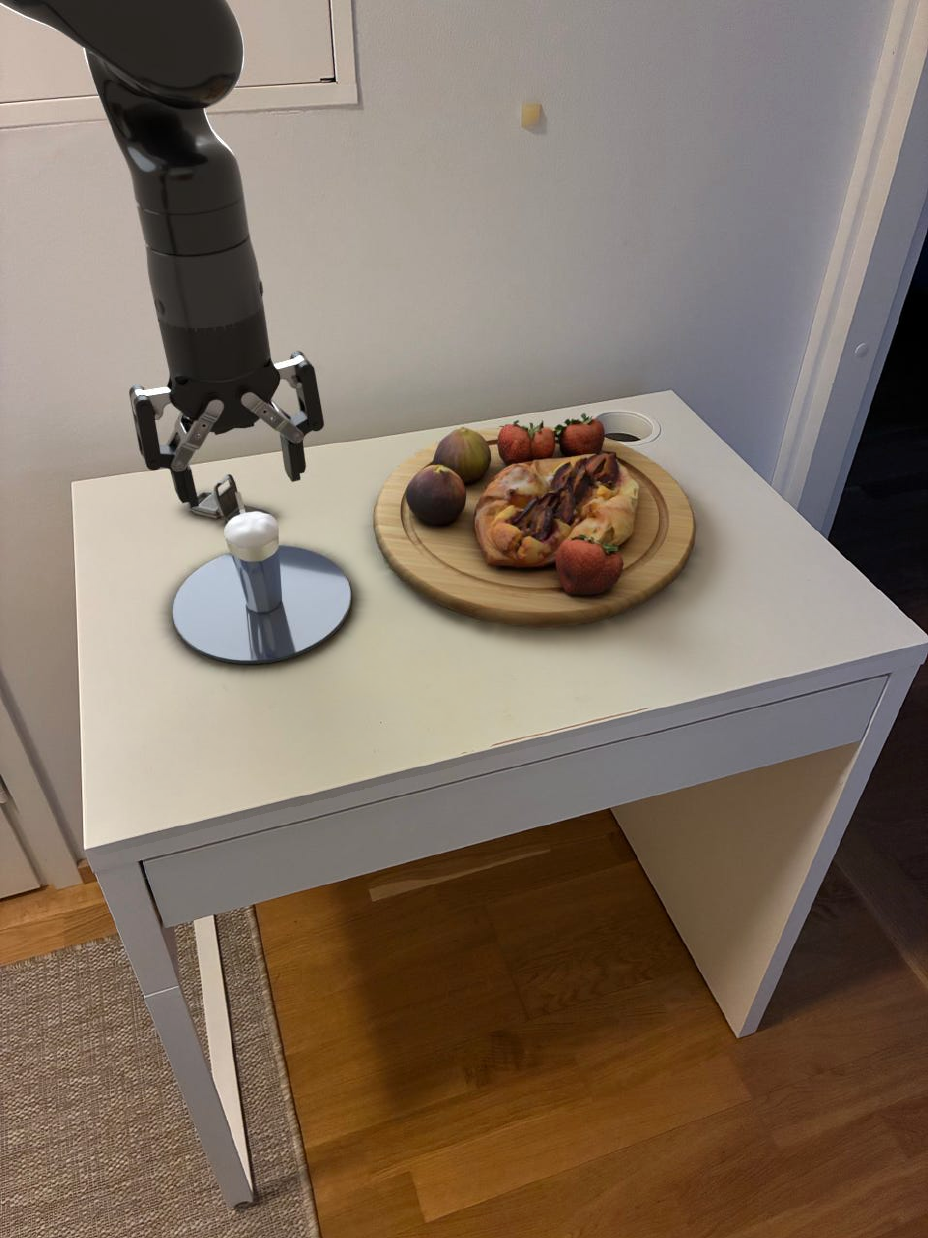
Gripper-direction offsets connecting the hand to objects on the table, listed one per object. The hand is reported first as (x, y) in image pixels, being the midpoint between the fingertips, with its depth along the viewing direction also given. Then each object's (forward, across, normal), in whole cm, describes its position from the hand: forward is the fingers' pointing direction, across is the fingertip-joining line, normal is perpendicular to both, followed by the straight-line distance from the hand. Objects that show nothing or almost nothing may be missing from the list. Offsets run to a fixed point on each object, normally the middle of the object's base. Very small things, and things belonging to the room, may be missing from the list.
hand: (243, 489), depth 79 cm
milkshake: (+12, 0, 0) cm, 12 cm away
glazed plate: (+12, 0, 0) cm, 13 cm away
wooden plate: (+13, -28, 0) cm, 31 cm away
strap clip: (+13, -1, -15) cm, 20 cm away
